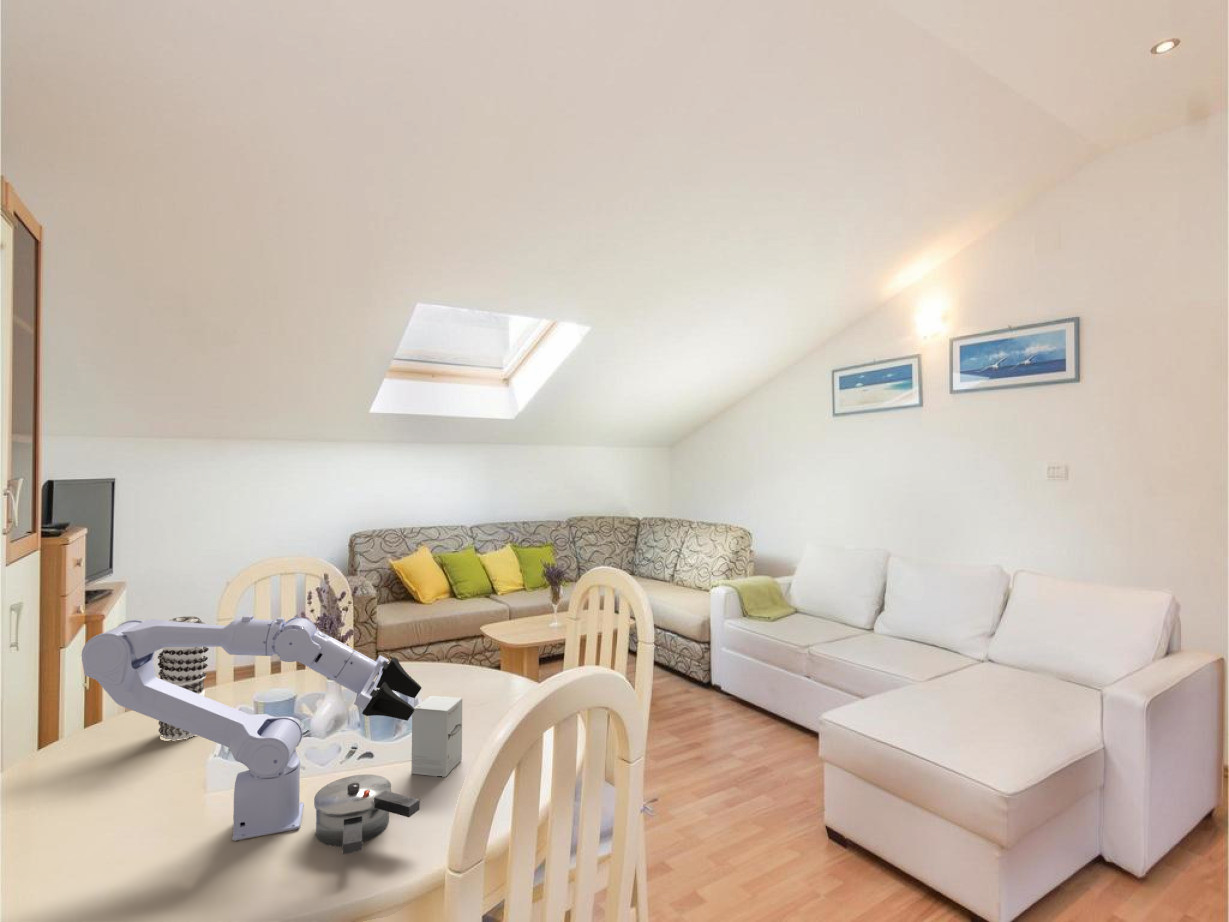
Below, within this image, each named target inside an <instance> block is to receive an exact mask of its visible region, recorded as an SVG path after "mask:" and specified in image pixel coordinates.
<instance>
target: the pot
mask: <svg viewBox="0 0 1229 922" xmlns="http://www.w3.org/2000/svg"><path fill="white" fill-rule="evenodd" d="M315 815H316V816H315V835H316V837H315V838H316V839H317V841H319V843H322V844H323V845H326V846H329V845H331V847H342V855H346V854H347V855H348V854H351V853H357V852H361V851H362V852H363V843H365V842H367V841H370V840H372V839H374V838H376V837H377V836H379V835H380V834H382V833H383V832H384V831H385V830H386V828H387V827H388V825H389V824H390V812H387V811H384V810H380V809H377V808H374V809H371V810H369V811H366V812H363V813H359V814H355V815H349V816H328V815H324V814H322V813H320V812H318V811H317V810H316V809H315Z"/></svg>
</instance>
